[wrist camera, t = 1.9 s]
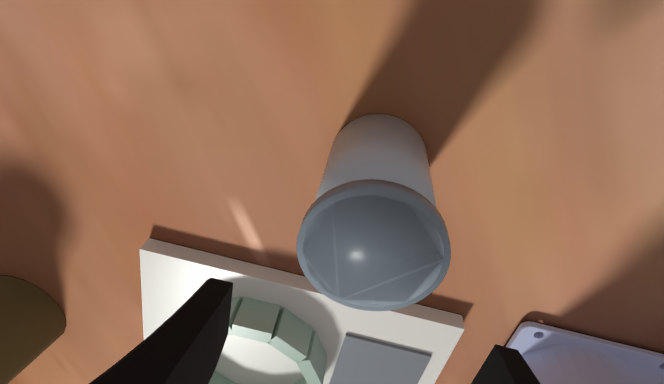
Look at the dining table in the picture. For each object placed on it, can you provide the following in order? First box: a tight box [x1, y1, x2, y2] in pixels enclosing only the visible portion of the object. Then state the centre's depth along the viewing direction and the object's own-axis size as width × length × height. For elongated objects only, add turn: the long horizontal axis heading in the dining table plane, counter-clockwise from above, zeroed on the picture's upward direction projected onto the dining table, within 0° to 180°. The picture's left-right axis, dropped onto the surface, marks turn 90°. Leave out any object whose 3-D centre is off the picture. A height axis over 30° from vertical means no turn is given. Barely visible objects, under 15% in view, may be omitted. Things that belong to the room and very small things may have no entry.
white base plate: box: [140, 238, 465, 384], centre depth 25 cm, size 18×12×3 cm, turn 78°
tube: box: [297, 114, 451, 311], centre depth 16 cm, size 5×5×7 cm
